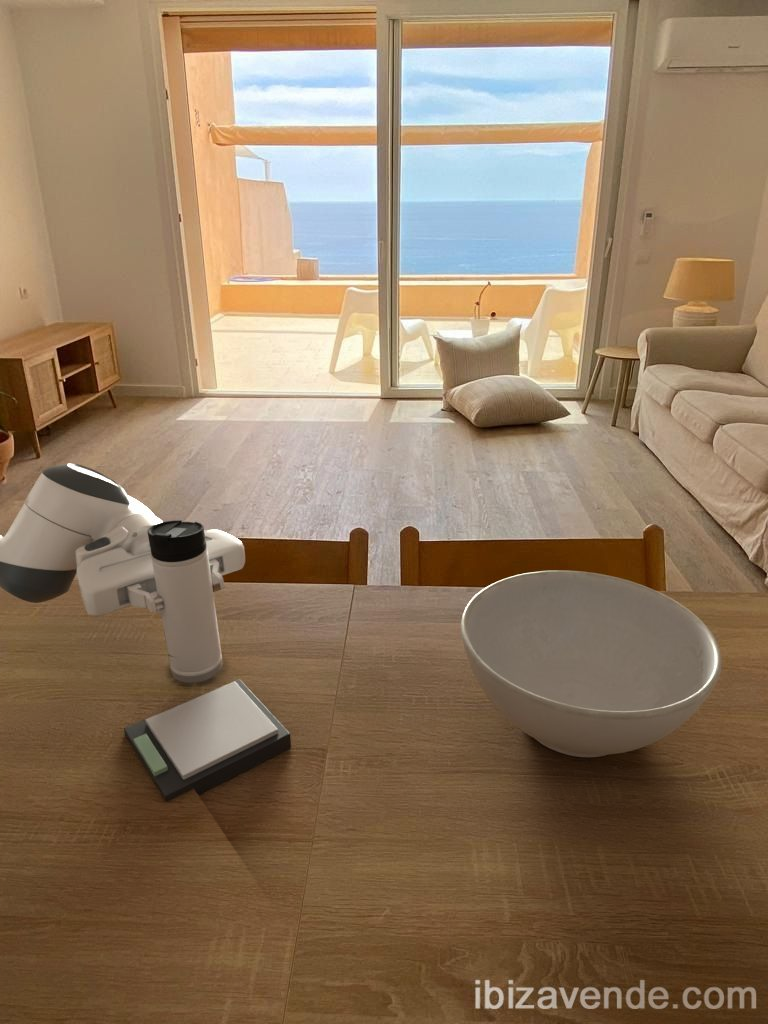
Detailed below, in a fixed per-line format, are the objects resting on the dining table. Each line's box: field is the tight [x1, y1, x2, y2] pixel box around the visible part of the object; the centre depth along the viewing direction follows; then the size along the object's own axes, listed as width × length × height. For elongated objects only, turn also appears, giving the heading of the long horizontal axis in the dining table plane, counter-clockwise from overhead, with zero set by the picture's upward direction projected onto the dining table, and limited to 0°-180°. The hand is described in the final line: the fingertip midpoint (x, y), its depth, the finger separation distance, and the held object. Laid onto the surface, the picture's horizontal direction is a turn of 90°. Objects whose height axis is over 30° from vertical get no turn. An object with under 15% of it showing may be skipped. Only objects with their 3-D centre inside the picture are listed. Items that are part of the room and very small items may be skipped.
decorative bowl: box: [460, 570, 723, 758], centre depth 77 cm, size 27×27×12 cm
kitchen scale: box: [123, 679, 292, 803], centre depth 76 cm, size 14×12×3 cm
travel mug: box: [147, 519, 223, 684], centre depth 82 cm, size 6×7×20 cm
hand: (188, 595), depth 81 cm, fingers closed on travel mug, 6 cm apart
